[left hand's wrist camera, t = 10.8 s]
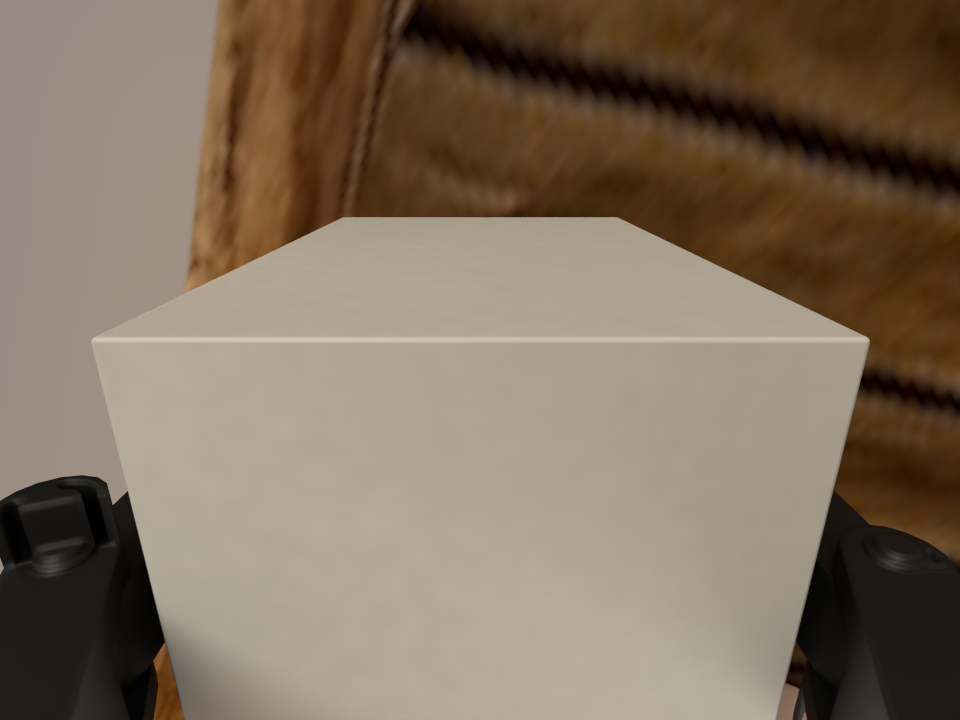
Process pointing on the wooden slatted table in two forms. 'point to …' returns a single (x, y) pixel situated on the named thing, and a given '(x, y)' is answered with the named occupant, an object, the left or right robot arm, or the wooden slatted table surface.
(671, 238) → the wooden slatted table surface
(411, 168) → the wooden slatted table surface
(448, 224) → the brick
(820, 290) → the wooden slatted table surface
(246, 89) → the wooden slatted table surface
